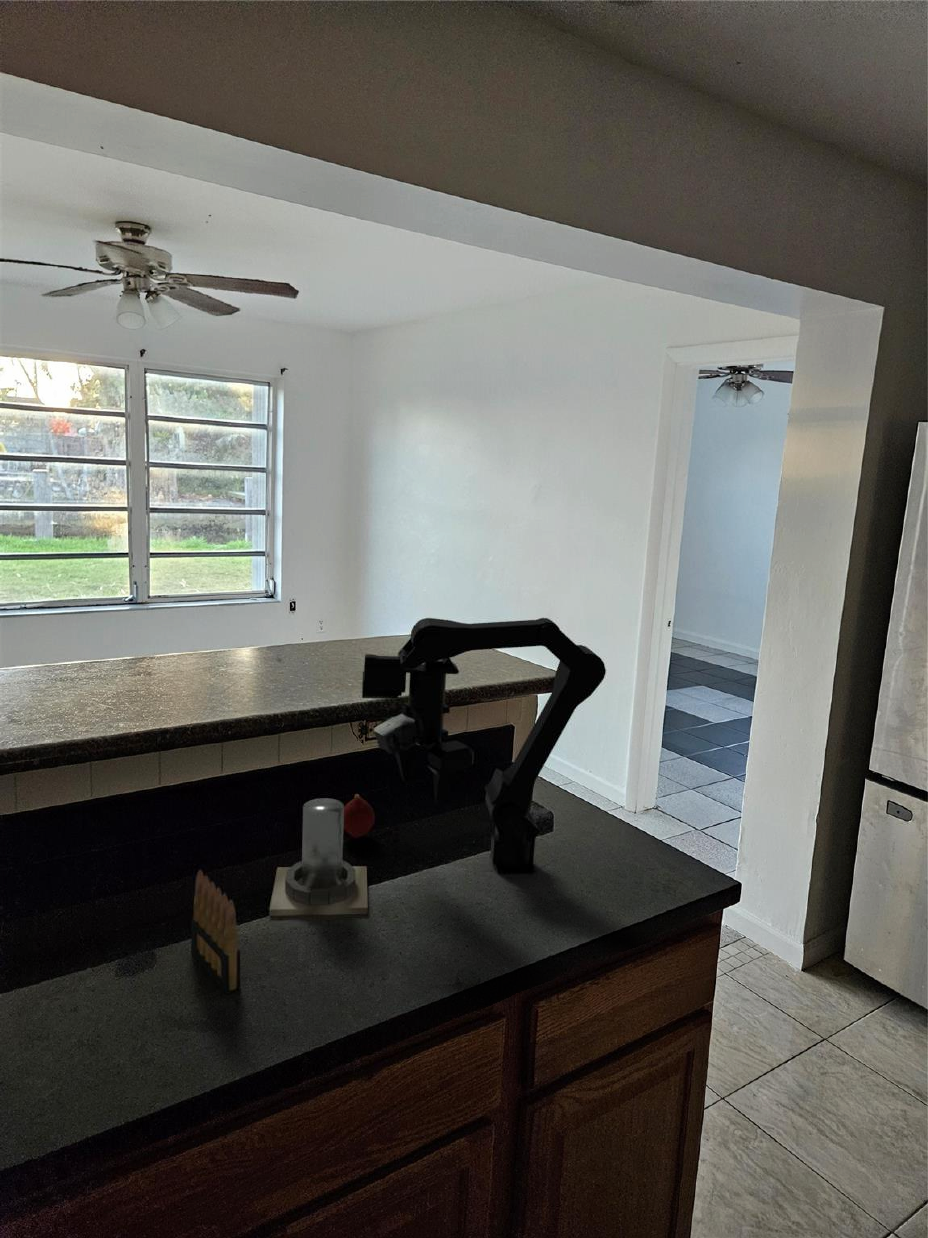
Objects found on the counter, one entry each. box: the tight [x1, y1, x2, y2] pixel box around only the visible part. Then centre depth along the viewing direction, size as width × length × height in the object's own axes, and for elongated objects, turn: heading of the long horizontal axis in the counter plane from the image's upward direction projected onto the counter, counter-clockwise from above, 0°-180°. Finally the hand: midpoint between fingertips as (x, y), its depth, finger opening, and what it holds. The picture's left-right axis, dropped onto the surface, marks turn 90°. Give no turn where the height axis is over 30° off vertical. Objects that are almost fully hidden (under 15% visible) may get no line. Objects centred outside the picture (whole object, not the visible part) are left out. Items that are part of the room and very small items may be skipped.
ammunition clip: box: [190, 869, 241, 995], centre depth 99 cm, size 11×2×12 cm, turn 42°
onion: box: [343, 793, 376, 839], centre depth 137 cm, size 6×6×8 cm
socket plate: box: [268, 860, 368, 917], centre depth 119 cm, size 14×12×3 cm
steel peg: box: [301, 797, 345, 889], centre depth 118 cm, size 6×6×13 cm
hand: (421, 791), depth 127 cm, fingers open, 9 cm apart
